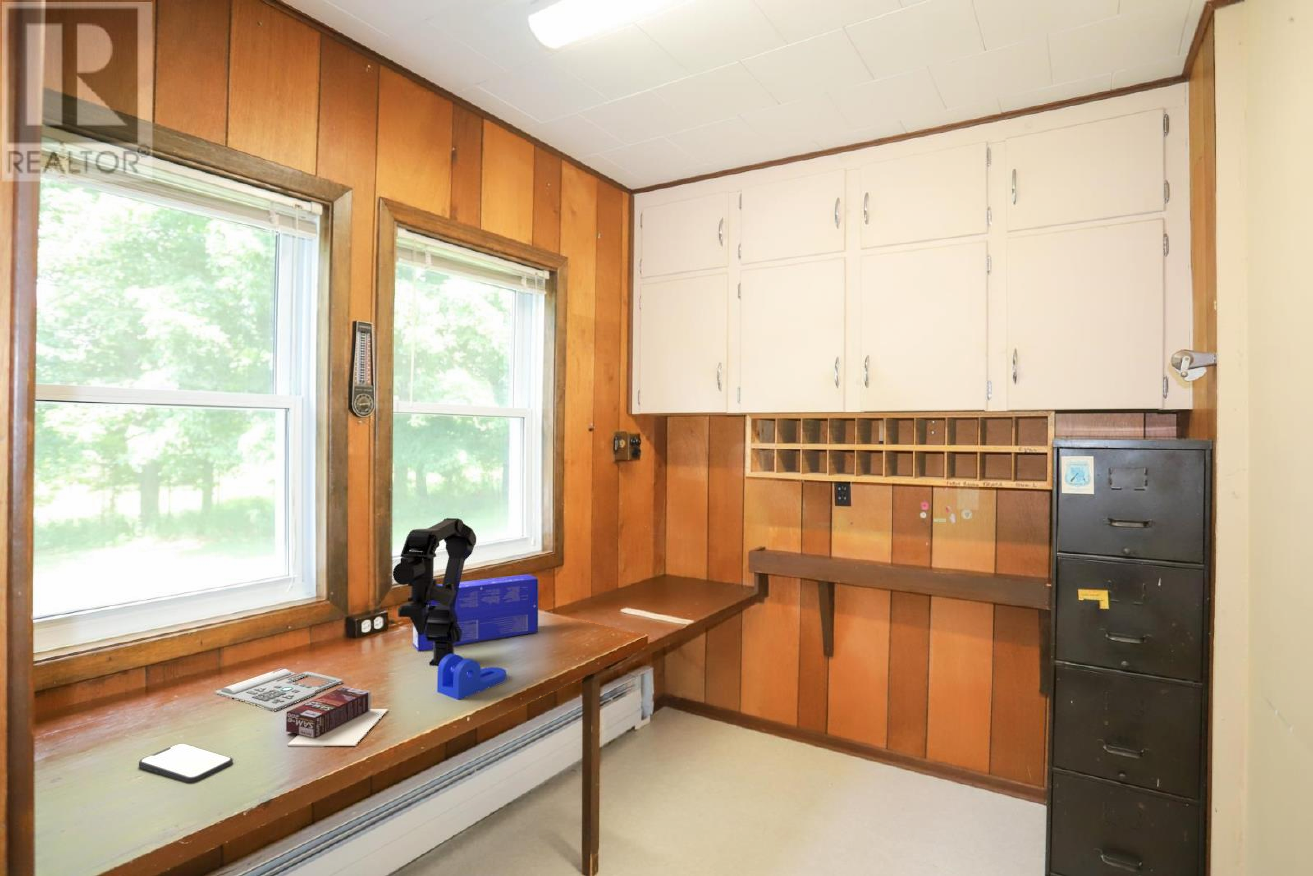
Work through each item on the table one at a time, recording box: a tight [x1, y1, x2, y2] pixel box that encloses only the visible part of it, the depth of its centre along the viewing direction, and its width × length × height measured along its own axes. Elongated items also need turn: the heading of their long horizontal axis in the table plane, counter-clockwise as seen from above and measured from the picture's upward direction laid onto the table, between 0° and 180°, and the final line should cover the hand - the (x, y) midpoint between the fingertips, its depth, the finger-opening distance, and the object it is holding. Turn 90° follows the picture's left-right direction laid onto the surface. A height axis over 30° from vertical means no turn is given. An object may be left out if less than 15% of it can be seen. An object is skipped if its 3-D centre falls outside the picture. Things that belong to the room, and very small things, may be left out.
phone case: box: [138, 743, 234, 784], centre depth 129 cm, size 9×2×16 cm
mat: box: [287, 708, 389, 747], centre depth 147 cm, size 18×14×1 cm
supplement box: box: [285, 686, 372, 738], centre depth 149 cm, size 9×5×16 cm
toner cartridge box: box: [412, 574, 539, 652], centre depth 212 cm, size 39×8×18 cm, turn 123°
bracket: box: [436, 653, 507, 701], centre depth 173 cm, size 18×8×9 cm, turn 145°
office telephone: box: [214, 667, 343, 712], centre depth 168 cm, size 23×3×20 cm
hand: (421, 634), depth 176 cm, fingers closed
